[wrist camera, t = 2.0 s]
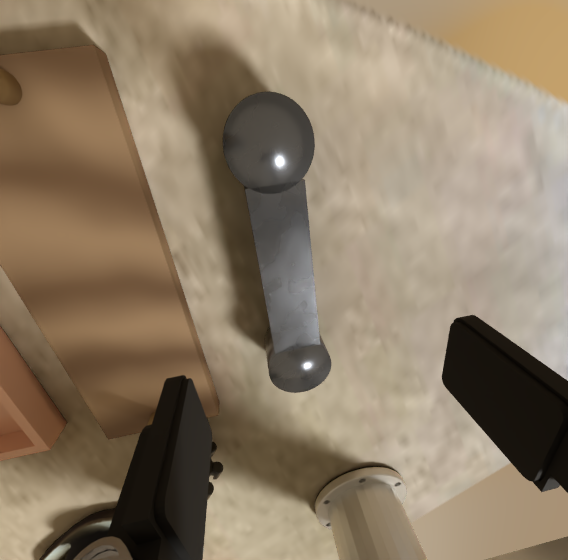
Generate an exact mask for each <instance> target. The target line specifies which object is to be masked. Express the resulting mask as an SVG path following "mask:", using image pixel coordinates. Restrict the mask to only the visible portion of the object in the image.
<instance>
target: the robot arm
mask: <svg viewBox="0 0 568 560" xmlns="http://www.w3.org/2000/svg"><path fill="white" fill-rule="evenodd" d="M442 381H443V384H444V385H445V387H446V388H447V389H448V390H449V392H450V393H451V394H452V395H453V396H454V397H455V399H456V400H457V401H458V402H459V403H460V404H461V405H462V407H463V408H464V409H465V410H466V411H467V412H468V413H469V415H470V416H471V417H472V418H473V419H474V420H475V422H476V423H477V424H478V425H479V426H480V427H481V428H482V430H483V431H484V432H485V433H486V434H487V435H488V436H489V438H490V439H491V440H492V441H493V442H494V443H495V444H496V446H497V447H498V448H499V449H500V450H501V451H502V453H503V454H504V455H505V456H506V457H507V458H508V459H509V461H510V462H511V463H512V464H513V465H514V466H515V467H516V469H517V470H518V471H519V472H520V473H521V474H522V475H523V476H524V477H525V478H526V479H527V480H529V481H533V483H534V484H535V485H536V486H537V487H538V488H539V489H540V491H541V492H544V491H547V490H551V489H555V488H558V487H559V486H560V485H561V486H562V487H563V488H564V489H565V491H566V492H568V381H567V380H566V379H564V378H563V377H561V376H560V375H559V374H557V373H556V372H554V371H553V370H552V369H550V368H549V367H547V366H546V365H544V364H543V363H542V362H540V361H539V360H537V359H536V358H535V357H533V356H532V355H530V354H529V353H527V352H526V351H525V350H523V349H522V348H520V347H519V346H518V345H516V344H515V343H513V342H512V341H511V340H509V339H508V338H506V337H505V336H503V335H502V334H501V333H499V332H498V331H496V330H495V329H494V328H492V327H491V326H489V325H488V324H486V323H485V322H484V321H482V320H481V319H479V318H478V317H476V316H474V315H470V316H465V317H460V318H456V319H455V320H454V322H453V323H452V324H451V326H450V332H449V338H448V344H447V349H446V355H445V361H444V367H443V373H442ZM211 448H212V432H211V428H210V425H209V423H208V420H207V417H206V415H205V412H204V409H203V407H202V404H201V401H200V399H199V396H198V393H197V391H196V388H195V386H194V383H193V380H192V379H191V378H188V379H187V378H186V376H185V375H181V376H176V377H171V378H167V379H166V380H165V382H164V386H163V389H162V392H161V395H160V399H159V402H158V405H157V409H156V412H155V415H154V419H153V422H152V424H151V425H147V426H145V427H144V428H143V430H142V432H141V434H140V437H139V440H138V443H137V446H136V449H135V452H134V455H133V458H132V461H131V464H130V467H129V470H128V473H127V476H126V479H125V482H124V485H123V488H122V491H121V494H120V497H119V500H118V503H117V506H116V509H115V512H114V515H113V518H112V521H111V524H110V528H109V531H108V534H107V537H104V538H101V539H99V540H97V541H95V542H93V543H91V544H90V545H88V546H87V547H86V548H85V549H83V550H82V551H81V552H80V553H79V554H78V555H77V556H76V557H75V558H74V559H73V560H202V558H203V546H204V534H205V521H206V509H207V497H208V484H209V472H210V460H211ZM406 496H407V487H406V484H405V482H404V480H403V478H402V477H401V475H400V474H398V473H397V472H396V471H393V470H391V469H388V468H383V467H368V468H362V469H358V470H354V471H351V472H348V473H346V474H344V475H342V476H340V477H338V478H336V479H335V480H333V481H332V482H330V483H329V484H328V485H327V486H326V487H325V488H324V489H323V490H322V491H321V492H320V494H319V495H318V497H317V499H316V502H315V511H316V516H317V519H318V521H319V523H321V524H322V525H323V526H324V527H326V528H328V529H331V530H332V532H333V536H334V540H335V544H336V548H337V552H338V556H339V560H428V559H427V557H426V555H425V553H424V551H423V548H422V546H421V544H420V542H419V540H418V538H417V536H416V534H415V532H414V529H413V527H412V525H411V523H410V520H409V518H408V516H407V514H406V512H405V510H404V508H403V505H402V504H403V503H404V501H405V499H406ZM486 560H568V537H564V538H561V539H558V540H554V541H550V542H546V543H543V544H539V545H536V546H532V547H529V548H525V549H521V550H518V551H514V552H511V553H507V554H504V555H500V556H496V557H493V558H489V559H486Z"/></svg>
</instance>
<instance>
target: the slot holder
mask: <svg viewBox="0 0 568 560" xmlns="http://www.w3.org/2000/svg"><path fill="white" fill-rule="evenodd" d="M66 424H67V422H66V420H65V419H64V418H63V416H62V415H61V413H60V412H59V410H58V409H57V407H56V406H55V404H54V403H53V402H52V400H51V399H50V397H49V396H48V394H47V393H46V391H45V390H44V388H43V387H42V386H41V384H40V383H39V381H38V380H37V378H36V377H35V375H34V374H33V373H32V371H31V370H30V368H29V367H28V365H27V364H26V362H25V361H24V359H23V358H22V357H21V355H20V354H19V352H18V351H17V349H16V348H15V346H14V345H13V343H12V342H11V341H10V339H9V338H8V336H7V335H6V333H5V332H4V330H3V329H2V328H1V326H0V461H2V460H6V459H11V458H15V457H20V456H25V455H29V454H34V453H38V452H43V451H47V450H50V449H51V448H52V446H53V445H54V443H55V441H56V440H57V438H58V437H59V435H60V434H61V432H62V430H63V429H64V427H65V426H66Z"/></svg>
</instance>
